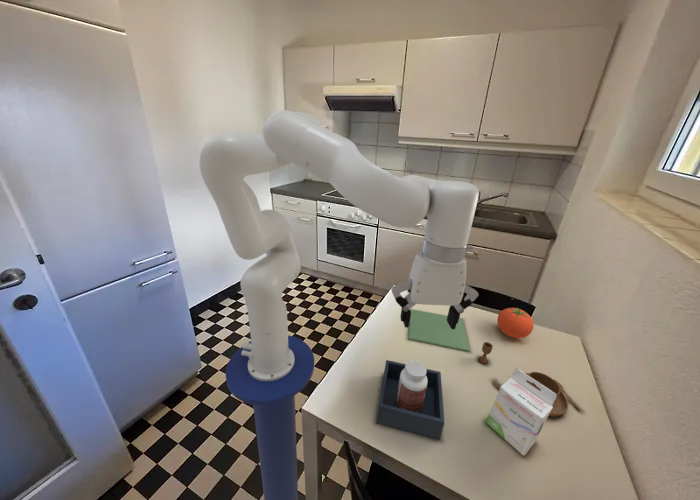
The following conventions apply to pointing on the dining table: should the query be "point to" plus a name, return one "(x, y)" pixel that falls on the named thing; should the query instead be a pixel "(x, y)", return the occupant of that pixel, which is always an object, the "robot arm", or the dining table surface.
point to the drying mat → (437, 330)
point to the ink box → (521, 411)
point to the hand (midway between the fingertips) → (427, 324)
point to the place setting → (560, 402)
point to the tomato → (515, 322)
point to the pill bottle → (412, 386)
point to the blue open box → (393, 416)
